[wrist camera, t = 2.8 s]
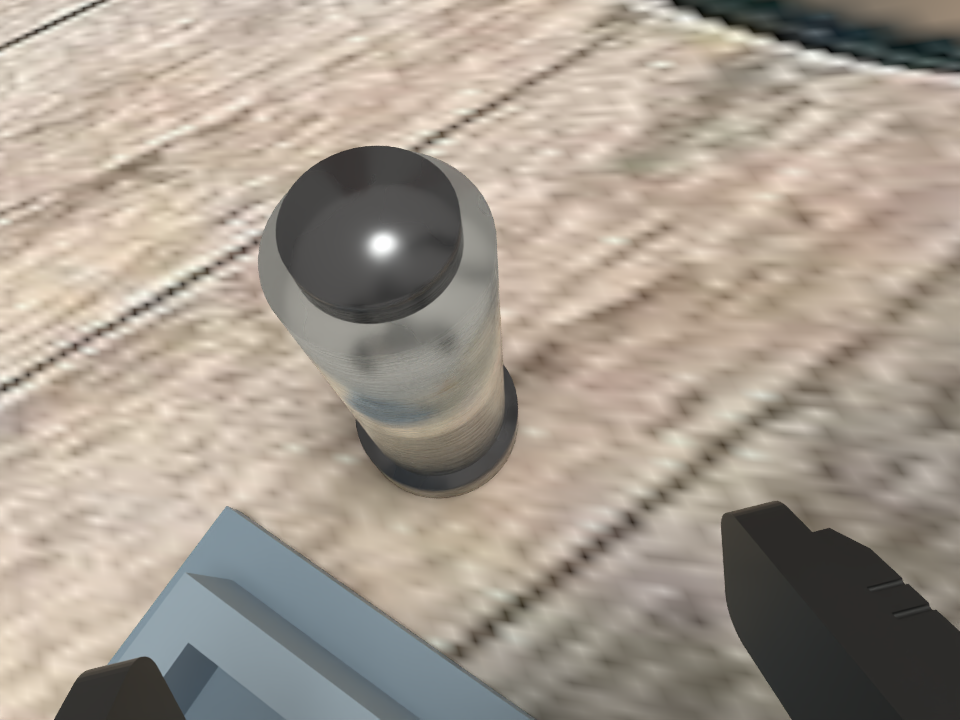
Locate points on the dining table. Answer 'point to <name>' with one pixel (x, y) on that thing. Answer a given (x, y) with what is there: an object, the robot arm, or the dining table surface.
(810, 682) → the robot arm
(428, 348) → the thermos
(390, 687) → the dock
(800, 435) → the dining table surface
